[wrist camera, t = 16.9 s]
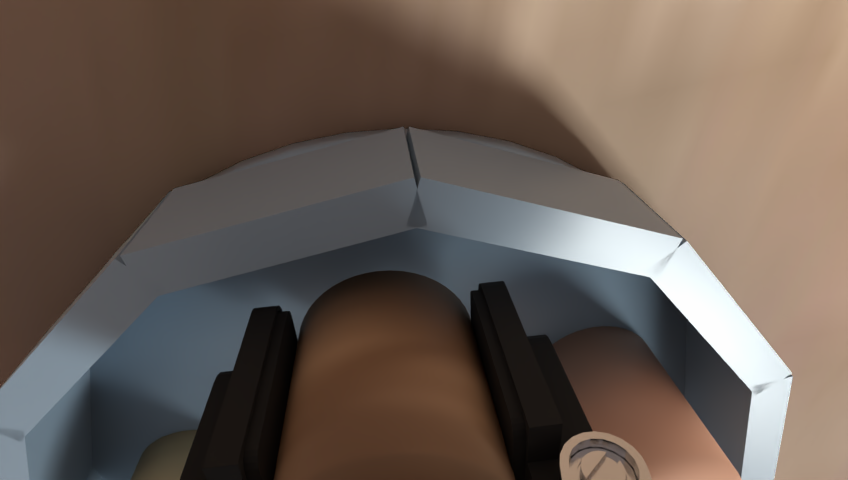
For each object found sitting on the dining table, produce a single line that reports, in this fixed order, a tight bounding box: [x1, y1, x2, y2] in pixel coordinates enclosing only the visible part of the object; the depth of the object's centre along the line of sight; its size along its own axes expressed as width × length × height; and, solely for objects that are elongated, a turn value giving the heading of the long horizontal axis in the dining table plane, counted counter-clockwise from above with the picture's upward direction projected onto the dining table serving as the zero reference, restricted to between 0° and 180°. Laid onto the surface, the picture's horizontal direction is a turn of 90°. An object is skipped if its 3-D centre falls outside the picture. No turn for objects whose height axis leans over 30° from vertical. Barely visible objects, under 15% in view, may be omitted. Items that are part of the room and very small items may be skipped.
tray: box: [0, 127, 793, 480], centre depth 16 cm, size 21×21×4 cm
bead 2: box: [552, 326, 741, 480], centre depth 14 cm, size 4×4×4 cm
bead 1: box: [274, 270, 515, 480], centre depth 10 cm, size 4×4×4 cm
